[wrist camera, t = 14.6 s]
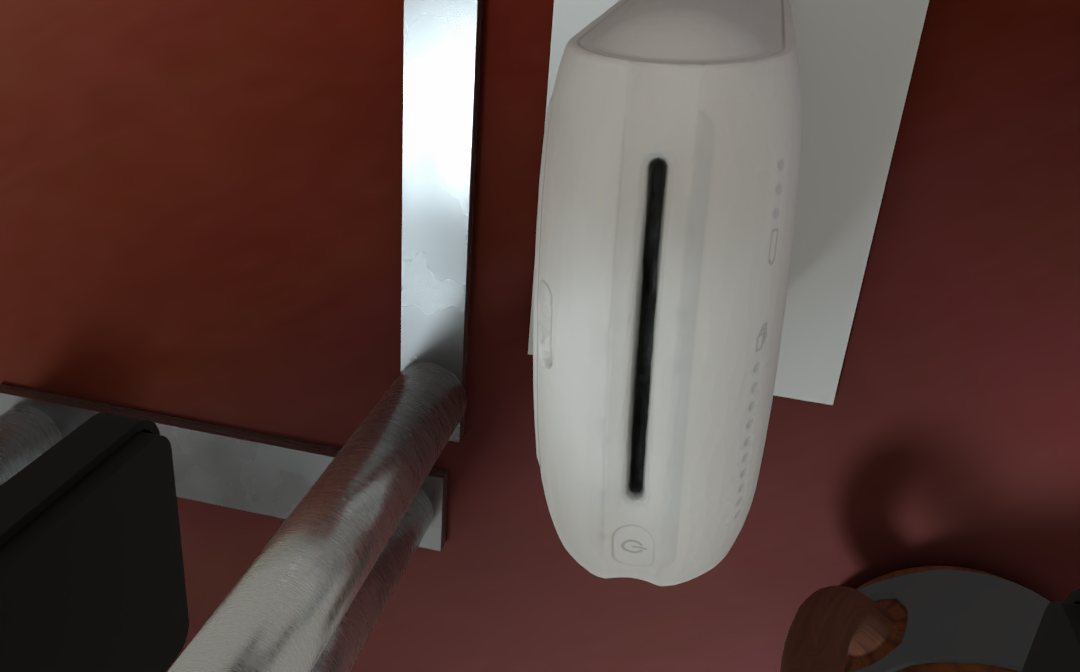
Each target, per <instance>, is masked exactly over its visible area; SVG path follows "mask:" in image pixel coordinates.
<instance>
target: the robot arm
mask: <svg viewBox="0 0 1080 672" xmlns="http://www.w3.org/2000/svg"><path fill="white" fill-rule="evenodd" d="M188 627H189V619H188V608H187V598H186V588H185V578H184V568H183V558H182V548H181V537H180V527H179V517H178V507H177V497H176V487H175V477H174V466H173V456H172V448H171V443H170V441H169V440H168V438H167V437H165V436H163V435H160V431H159V429H158V427H157V425H156V424H155V423H154V422H152V421H151V420H147V419H142V418H136V417H131V416H125V415H120V414H114V413H109V412H100V413H98V414H96V415H94V416H92V417H91V418H90V419H88V420H87V421H86V422H84V423H83V424H82V425H80V426H79V427H78V428H76V429H75V430H74V431H72V432H71V433H70V434H68V435H67V436H66V437H64V438H63V439H62V440H60V441H59V442H58V443H56V444H55V445H54V446H52V447H51V448H50V449H48V450H47V451H46V452H44V453H43V454H42V455H40V456H39V457H38V458H36V459H35V460H34V461H32V462H31V463H30V464H29V465H27V466H26V467H25V468H23V469H22V470H21V471H19V472H18V473H17V474H15V475H14V476H13V477H11V478H10V479H9V480H7V481H6V482H5V483H3V484H2V485H1V486H0V672H166V670H167V669H168V668H169V666H170V665H171V664H172V663H173V661H174V660H175V659H176V658H177V656H178V655H179V653H180V651H181V650H182V647H183V645H184V643H185V640H186V637H187V633H188ZM1022 672H1080V590H1076V591H1073V592H1072V593H1071V594H1070V595H1069V596H1068V598H1067V600H1066V602H1062V601H1057V600H1055V601H1051V602H1050V603H1049V604H1048V605H1047V607H1046V609H1045V611H1044V614H1043V616H1042V619H1041V622H1040V624H1039V627H1038V630H1037V632H1036V635H1035V638H1034V640H1033V643H1032V645H1031V648H1030V651H1029V653H1028V656H1027V659H1026V661H1025V664H1024V667H1023V669H1022Z"/></svg>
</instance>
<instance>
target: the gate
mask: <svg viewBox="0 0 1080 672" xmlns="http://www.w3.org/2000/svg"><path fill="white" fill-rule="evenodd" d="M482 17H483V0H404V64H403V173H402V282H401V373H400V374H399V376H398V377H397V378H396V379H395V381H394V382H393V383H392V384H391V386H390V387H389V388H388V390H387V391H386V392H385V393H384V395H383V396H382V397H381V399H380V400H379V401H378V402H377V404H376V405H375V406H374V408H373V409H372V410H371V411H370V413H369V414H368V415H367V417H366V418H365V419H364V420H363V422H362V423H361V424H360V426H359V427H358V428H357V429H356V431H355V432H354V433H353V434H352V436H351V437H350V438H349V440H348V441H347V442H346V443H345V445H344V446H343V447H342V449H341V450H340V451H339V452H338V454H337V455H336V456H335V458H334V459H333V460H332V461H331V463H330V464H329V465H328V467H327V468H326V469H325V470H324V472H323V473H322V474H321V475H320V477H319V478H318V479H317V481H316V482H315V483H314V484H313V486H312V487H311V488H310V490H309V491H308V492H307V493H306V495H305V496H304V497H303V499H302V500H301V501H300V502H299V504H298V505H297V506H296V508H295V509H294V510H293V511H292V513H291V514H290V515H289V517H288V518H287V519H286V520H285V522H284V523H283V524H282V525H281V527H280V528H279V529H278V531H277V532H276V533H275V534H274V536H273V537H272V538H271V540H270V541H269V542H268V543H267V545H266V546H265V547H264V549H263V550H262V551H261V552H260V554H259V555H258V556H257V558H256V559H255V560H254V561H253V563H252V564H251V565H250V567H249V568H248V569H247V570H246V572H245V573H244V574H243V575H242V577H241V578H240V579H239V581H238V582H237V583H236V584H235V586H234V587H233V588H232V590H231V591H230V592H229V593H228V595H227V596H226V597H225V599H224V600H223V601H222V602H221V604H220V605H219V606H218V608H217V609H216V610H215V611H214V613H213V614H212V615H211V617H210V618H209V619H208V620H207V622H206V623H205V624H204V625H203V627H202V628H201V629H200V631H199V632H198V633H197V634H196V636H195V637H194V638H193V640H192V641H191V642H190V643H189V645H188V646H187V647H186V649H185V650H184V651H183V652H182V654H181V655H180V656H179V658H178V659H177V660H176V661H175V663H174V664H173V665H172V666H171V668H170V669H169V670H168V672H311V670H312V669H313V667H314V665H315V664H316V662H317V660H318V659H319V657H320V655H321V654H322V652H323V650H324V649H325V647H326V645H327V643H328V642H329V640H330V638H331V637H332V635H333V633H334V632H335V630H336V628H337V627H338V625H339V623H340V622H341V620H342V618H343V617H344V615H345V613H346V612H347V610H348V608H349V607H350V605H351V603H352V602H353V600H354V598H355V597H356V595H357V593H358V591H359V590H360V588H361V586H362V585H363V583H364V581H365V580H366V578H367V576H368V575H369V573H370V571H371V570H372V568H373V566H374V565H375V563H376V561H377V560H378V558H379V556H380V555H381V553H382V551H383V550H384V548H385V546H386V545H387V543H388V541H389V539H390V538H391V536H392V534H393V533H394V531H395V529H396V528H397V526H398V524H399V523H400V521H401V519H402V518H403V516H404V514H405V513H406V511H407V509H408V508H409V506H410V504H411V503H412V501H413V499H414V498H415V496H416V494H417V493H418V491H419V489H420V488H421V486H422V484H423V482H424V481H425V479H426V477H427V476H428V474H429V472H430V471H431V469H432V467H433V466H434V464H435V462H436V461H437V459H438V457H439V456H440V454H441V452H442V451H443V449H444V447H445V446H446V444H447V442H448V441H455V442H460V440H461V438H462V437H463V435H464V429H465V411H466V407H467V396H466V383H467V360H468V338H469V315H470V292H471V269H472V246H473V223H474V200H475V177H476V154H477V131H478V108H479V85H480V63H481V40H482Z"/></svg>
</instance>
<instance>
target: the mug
mask: <svg viewBox="0 0 1080 672" xmlns="http://www.w3.org/2000/svg"><path fill="white" fill-rule="evenodd" d="M1049 603H1050V601H1049V600H1047V599H1046V598H1044V597H1042V596H1040V595H1039V594H1037V593H1035V592H1034V591H1032V590H1030V589H1028V588H1025V587H1023V586H1021V585H1019V584H1016V583H1014V582H1011V581H1008V580H1006V579H1004V578H1002V577H999V576H997V575H993V574H990V573H987V572H984V571H980V570H975V569H970V568H965V567H955V566H922V567H913V568H908V569H903V570H898V571H894V572H891V573H888V574H885V575H882V576H879V577H877V578H875V579H873V580H870V581H868V582H866V583H865V584H863V585H861V586H860V587H858V588H856V589H853V588H850V587H846V586H830V587H826V588H822V589H820V590H818V591H816V592H815V593H813V594H812V595H811V596H810V597H808V598H807V599H806V600H805V601H804V603H803V604H802V605H801V606H800V608H799V610H798V612H797V614H796V616H795V618H794V620H793V622H792V625H791V627H790V629H789V633H788V636H787V639H786V642H785V646H784V651H783V656H782V662H781V671H780V672H1022V669H1023V667H1024V664H1025V661H1026V659H1027V656H1028V653H1029V651H1030V648H1031V645H1032V643H1033V640H1034V638H1035V635H1036V632H1037V630H1038V627H1039V624H1040V622H1041V619H1042V616H1043V614H1044V611H1045V609H1046V607H1047V605H1048V604H1049Z"/></svg>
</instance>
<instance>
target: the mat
mask: <svg viewBox="0 0 1080 672" xmlns="http://www.w3.org/2000/svg"><path fill="white" fill-rule="evenodd" d="M618 1H620V0H554V9H553V23H552V36H551V49H550V63H549V76H548V90H547V103H546V116H545V123H546V117H547V111H548V106H549V102H550V99H551V96H552V93H553V89H554V85H555V81H556V77H557V73H558V69H559V65H560V62H561V59H562V56H563V53H564V50H565V47H566V44H567V43H568V41H569V40H570V39H571V38H572V37H573V36H574V35H576V34H577V33H579V32H580V31H581V30H583V29H584V28H585V27H586V26H587V25H588V24H590V23H591V22H592V21H594V20H595V19H596V18H598V17H599V16H601V15H602V14H603V13H604V12H606V11H607V10H608V9H609V8H611V7H612V6H613V5H615V4H616V3H617V2H618ZM928 4H929V0H791V7H792V14H793V21H794V28H795V35H796V46H797V55H798V64H799V73H800V88H801V103H802V142H801V158H800V171H799V183H798V194H797V204H796V215H795V225H794V236H793V246H792V255H791V263H790V272H789V280H788V289H787V297H786V306H785V313H784V321H783V328H782V336H781V344H780V351H779V359H778V366H777V373H776V380H775V387H774V393H773V395H775V396H781V397H787V398H792V399H798V400H804V401H810V402H816V403H822V404H828V405H833V402H834V398H835V394H836V390H837V385H838V381H839V377H840V373H841V369H842V364H843V360H844V356H845V352H846V348H847V344H848V339H849V335H850V331H851V327H852V323H853V318H854V314H855V310H856V306H857V302H858V297H859V293H860V289H861V285H862V281H863V276H864V272H865V268H866V264H867V260H868V255H869V251H870V247H871V243H872V239H873V234H874V230H875V226H876V222H877V218H878V214H879V209H880V205H881V201H882V197H883V193H884V188H885V184H886V180H887V176H888V172H889V167H890V163H891V159H892V155H893V151H894V146H895V142H896V138H897V134H898V130H899V125H900V121H901V117H902V113H903V109H904V104H905V100H906V96H907V92H908V88H909V84H910V79H911V75H912V71H913V67H914V63H915V58H916V54H917V50H918V46H919V42H920V37H921V33H922V29H923V25H924V21H925V16H926V12H927V8H928ZM544 131H545V130H544ZM534 265H535V264H534ZM533 293H534V277H533V291H532V304H531V317H530V331H529V344H528V354H530V355H533V301H534V300H533Z"/></svg>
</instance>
